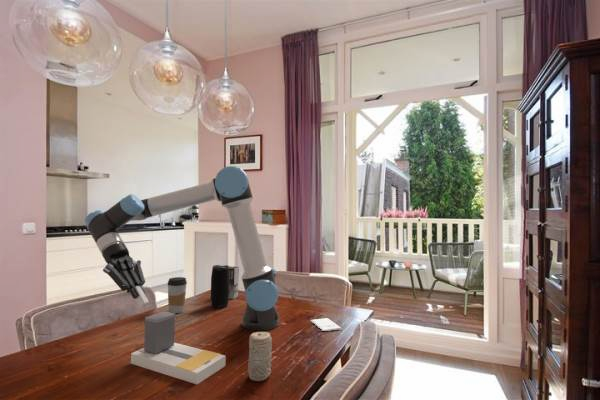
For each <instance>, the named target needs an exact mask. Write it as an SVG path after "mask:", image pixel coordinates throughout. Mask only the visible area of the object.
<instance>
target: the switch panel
mask: <svg viewBox="0 0 600 400" xmlns="http://www.w3.org/2000/svg"><path fill="white" fill-rule="evenodd" d="M226 360H227V359H226V355H224V354H221V353H220V352H215V351H210V350H206V349H200V348H197V347H193V346H190V345H185V344H181V343H179V342H178V343H177V342H174V346H172V347H170V348H167V349H165V350H163V351H161V352H159V353H157V354H154V353H151V352H147V351H144V347H143V348H140V349H138V350H136V351H133V352H131V353H130V364H131V365H134V366H138V367H140V368H141V367H142V368H143V369H147V370H150V371H154V372H156V373H160V374H162V375H166V376H169V377H172V378H176V379H179V380H181V381H182V380H183V381H185V382H188V383H191V384H194V385H199V384H200V383H202V382H203V381H205V380H206V379H207V378H209V377H210V376H212V375H214V374H216V373H217V372H219V371H220V370H221V369H223V368H224V367H226Z"/></svg>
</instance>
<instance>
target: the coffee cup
mask: <svg viewBox="0 0 600 400" xmlns="http://www.w3.org/2000/svg"><path fill="white" fill-rule="evenodd" d="M187 284H188V281H187V278H186V277H183V276H177V277H170V278H169V279H168V281H167V296H168V297H167V298H168V299H167V303H168V312H170V313H178V314H181V312H182V313H183V312H184V311H185V302H186V291H187Z"/></svg>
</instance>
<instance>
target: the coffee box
mask: <svg viewBox="0 0 600 400" xmlns="http://www.w3.org/2000/svg"><path fill="white" fill-rule="evenodd" d="M228 266H229V265H228ZM239 268H240V267H239V266H229V276H230V284H229V299H231V300H232V299H233V300H235V299H236V298H237V297H239Z"/></svg>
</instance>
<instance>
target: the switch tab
mask: <svg viewBox="0 0 600 400" xmlns="http://www.w3.org/2000/svg"><path fill="white" fill-rule="evenodd" d="M175 324H176V314H175V313H170V312H169V311H165V310H163V311H160V312H157V313H154V314H151V315H148V316H145V317H144V342H143V343H144V344H143V345H144V346H143V348H144V351H147V352H151V353H154V354H157V353H159V352H161V351H163V350H165V349H167V348H170V347H172V346H174V343H175V329H176V328H175V327H176V325H175Z"/></svg>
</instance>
